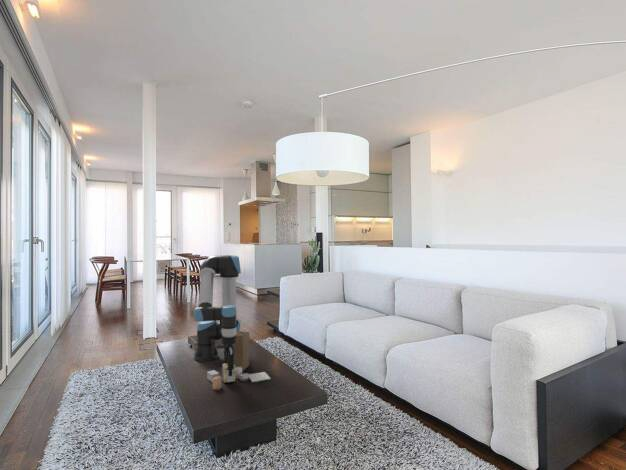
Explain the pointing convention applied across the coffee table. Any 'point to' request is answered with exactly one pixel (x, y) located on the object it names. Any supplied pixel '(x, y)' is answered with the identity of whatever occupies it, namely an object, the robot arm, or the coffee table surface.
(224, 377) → the maple block
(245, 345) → the wooden block
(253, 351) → the coffee table surface
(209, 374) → the grey box
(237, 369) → the grey rounded cylinder
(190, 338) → the book
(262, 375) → the coaster
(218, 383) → the peach capsule
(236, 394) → the coffee table surface
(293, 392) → the coffee table surface
